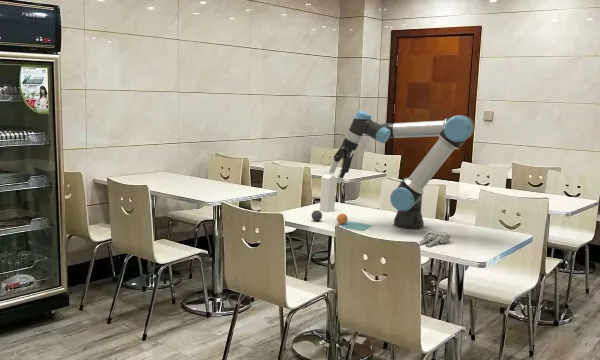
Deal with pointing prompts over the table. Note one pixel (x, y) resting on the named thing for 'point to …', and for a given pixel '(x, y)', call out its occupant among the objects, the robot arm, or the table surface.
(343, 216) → the ball
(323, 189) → the milk
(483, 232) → the table surface
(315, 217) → the ball
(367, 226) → the mark
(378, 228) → the table surface
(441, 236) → the grey glove
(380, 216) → the table surface
